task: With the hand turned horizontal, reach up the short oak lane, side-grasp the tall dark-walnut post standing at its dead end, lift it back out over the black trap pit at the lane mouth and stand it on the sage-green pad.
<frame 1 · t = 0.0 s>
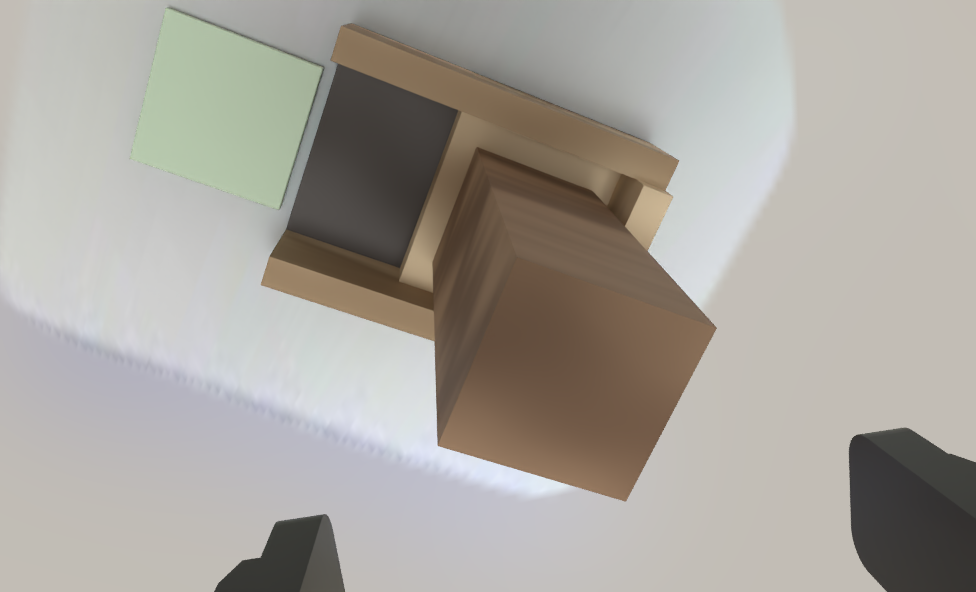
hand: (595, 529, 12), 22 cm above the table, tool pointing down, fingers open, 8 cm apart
lane: (463, 198, 33), on the table
pad: (228, 112, 31), on the table
post: (511, 226, 31), point 2 cm above the table, touching lane
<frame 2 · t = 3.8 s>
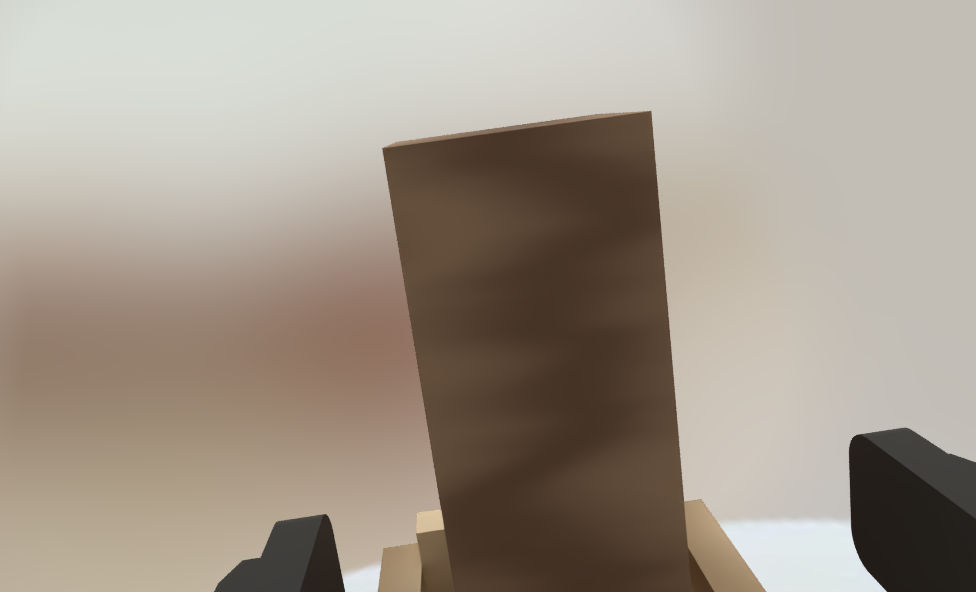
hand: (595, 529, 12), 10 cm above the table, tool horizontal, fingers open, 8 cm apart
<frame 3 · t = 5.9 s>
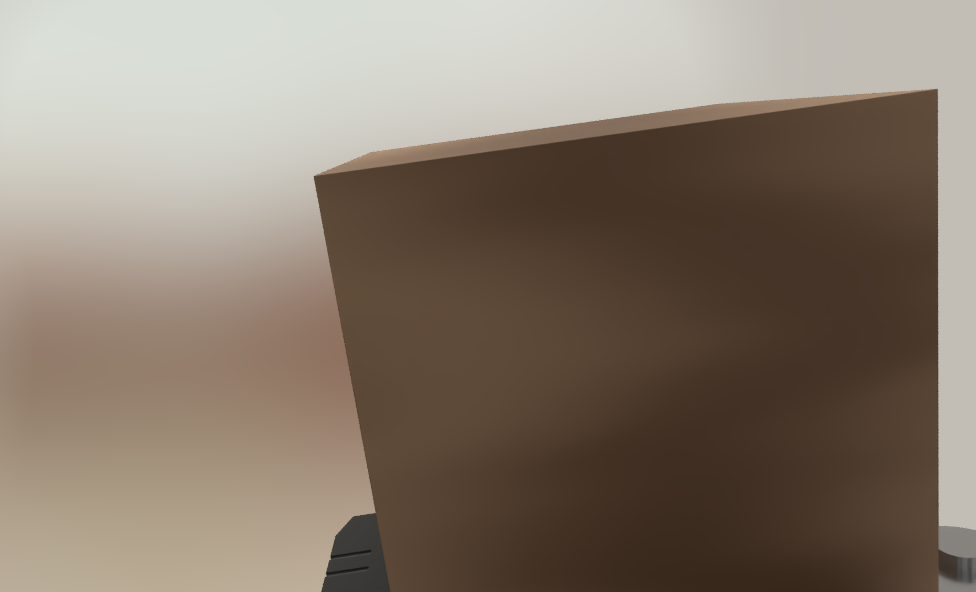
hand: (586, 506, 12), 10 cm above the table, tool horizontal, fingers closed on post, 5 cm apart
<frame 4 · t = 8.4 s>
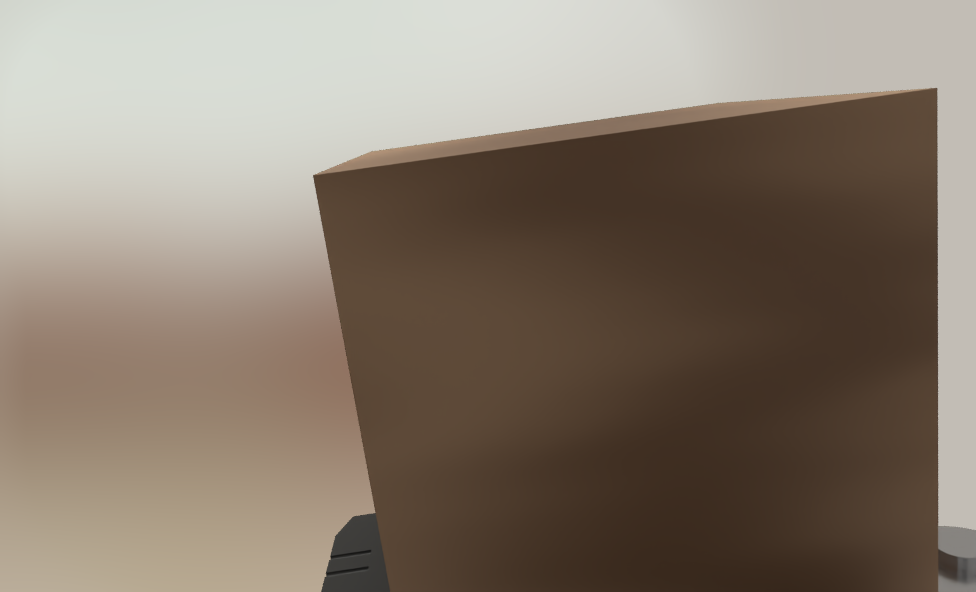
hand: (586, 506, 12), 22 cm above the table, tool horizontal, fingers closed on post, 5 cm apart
when the fingers open (9 cm above the table, at t = 11.1 s): post stays where it is, resting on pad.
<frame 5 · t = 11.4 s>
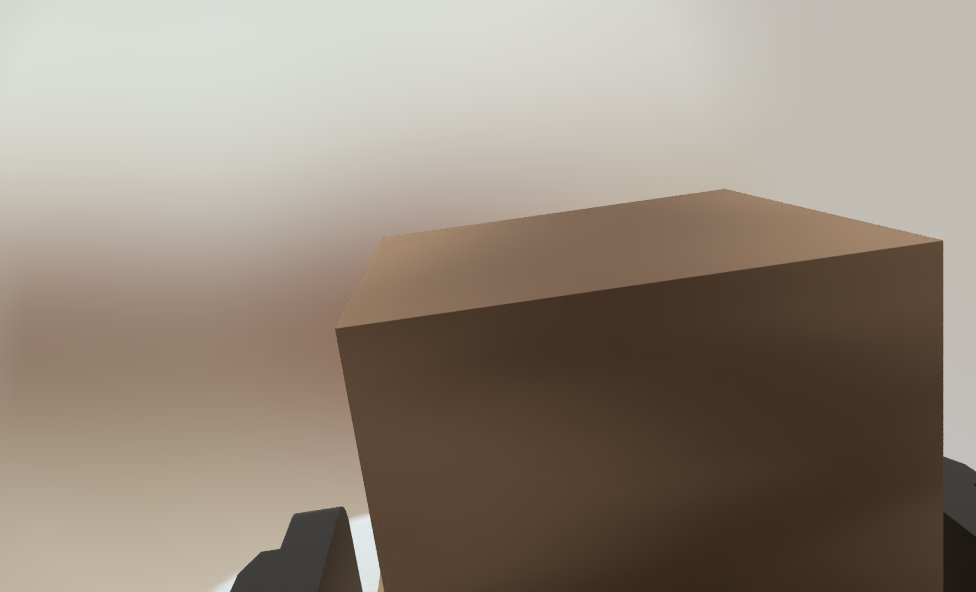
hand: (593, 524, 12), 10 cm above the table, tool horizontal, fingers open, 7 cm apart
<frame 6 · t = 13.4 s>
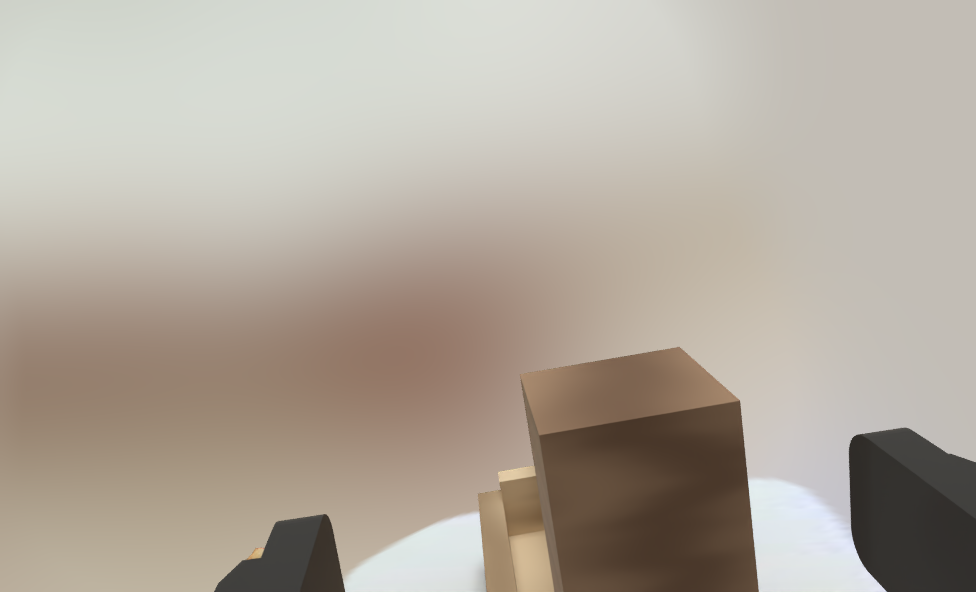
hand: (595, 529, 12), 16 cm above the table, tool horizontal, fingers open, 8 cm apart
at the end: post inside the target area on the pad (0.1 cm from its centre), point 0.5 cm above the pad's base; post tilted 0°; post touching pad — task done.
